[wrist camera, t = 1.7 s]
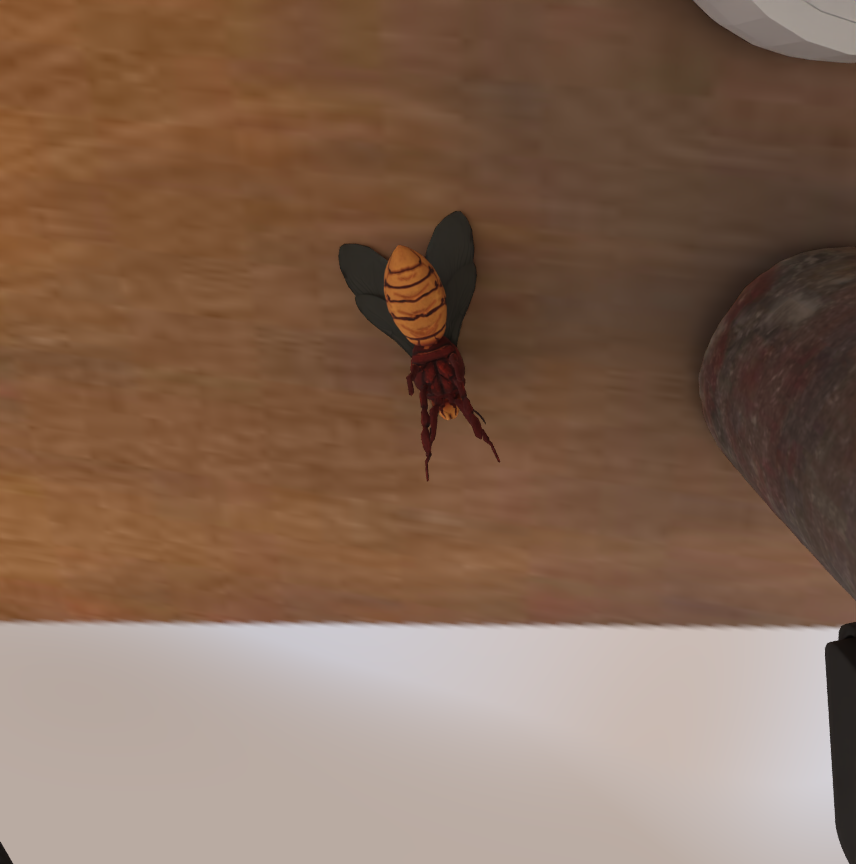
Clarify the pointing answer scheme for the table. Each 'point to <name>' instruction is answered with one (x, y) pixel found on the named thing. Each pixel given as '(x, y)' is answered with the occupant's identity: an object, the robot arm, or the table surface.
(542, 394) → the table surface
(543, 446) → the table surface
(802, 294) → the candle
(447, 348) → the insect
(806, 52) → the lantern
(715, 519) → the table surface
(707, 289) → the table surface
